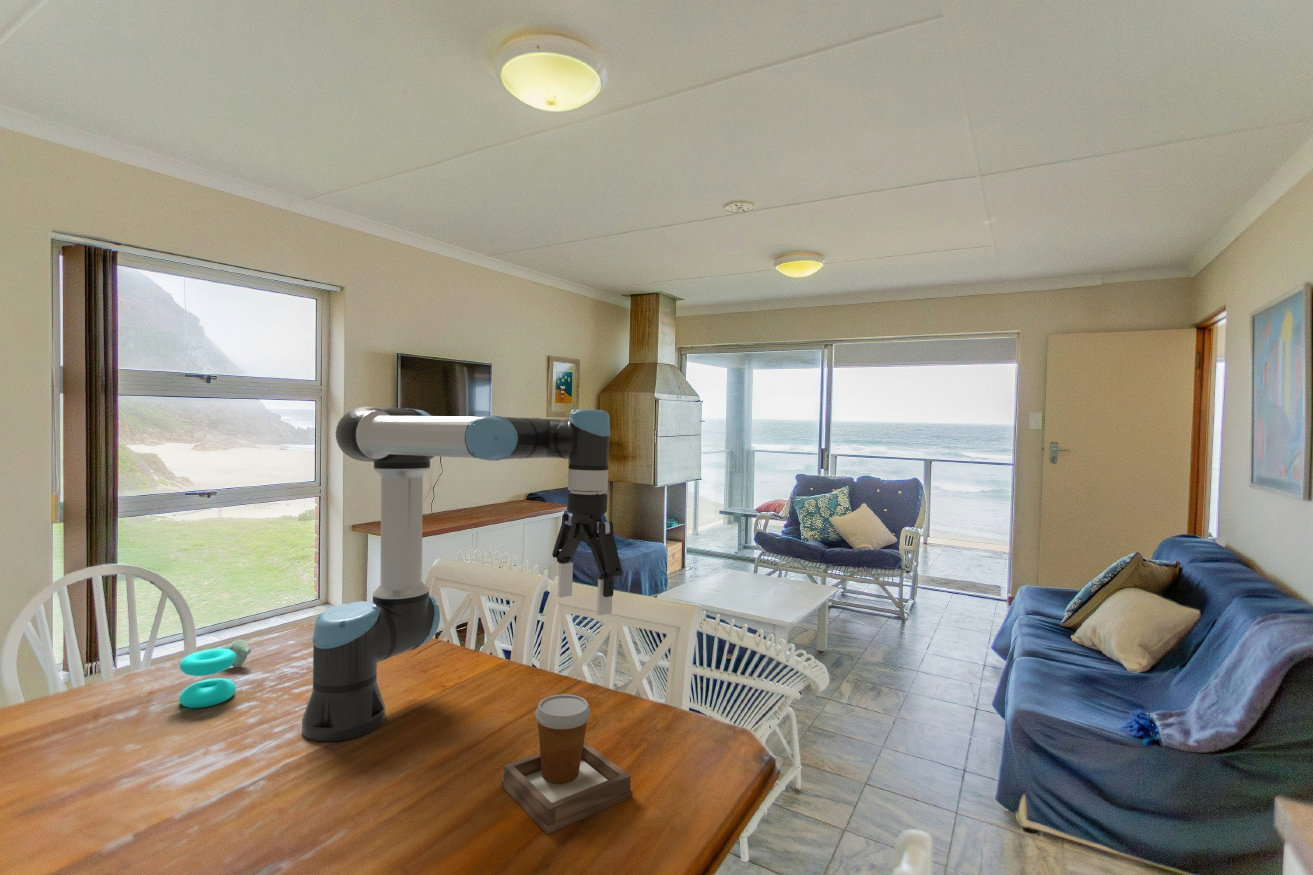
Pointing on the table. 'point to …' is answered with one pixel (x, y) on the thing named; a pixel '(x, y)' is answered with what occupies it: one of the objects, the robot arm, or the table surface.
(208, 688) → the donuts
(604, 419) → the robot arm
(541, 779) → the holder
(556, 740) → the disposable coffee cup
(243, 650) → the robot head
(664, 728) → the table surface
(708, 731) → the table surface
